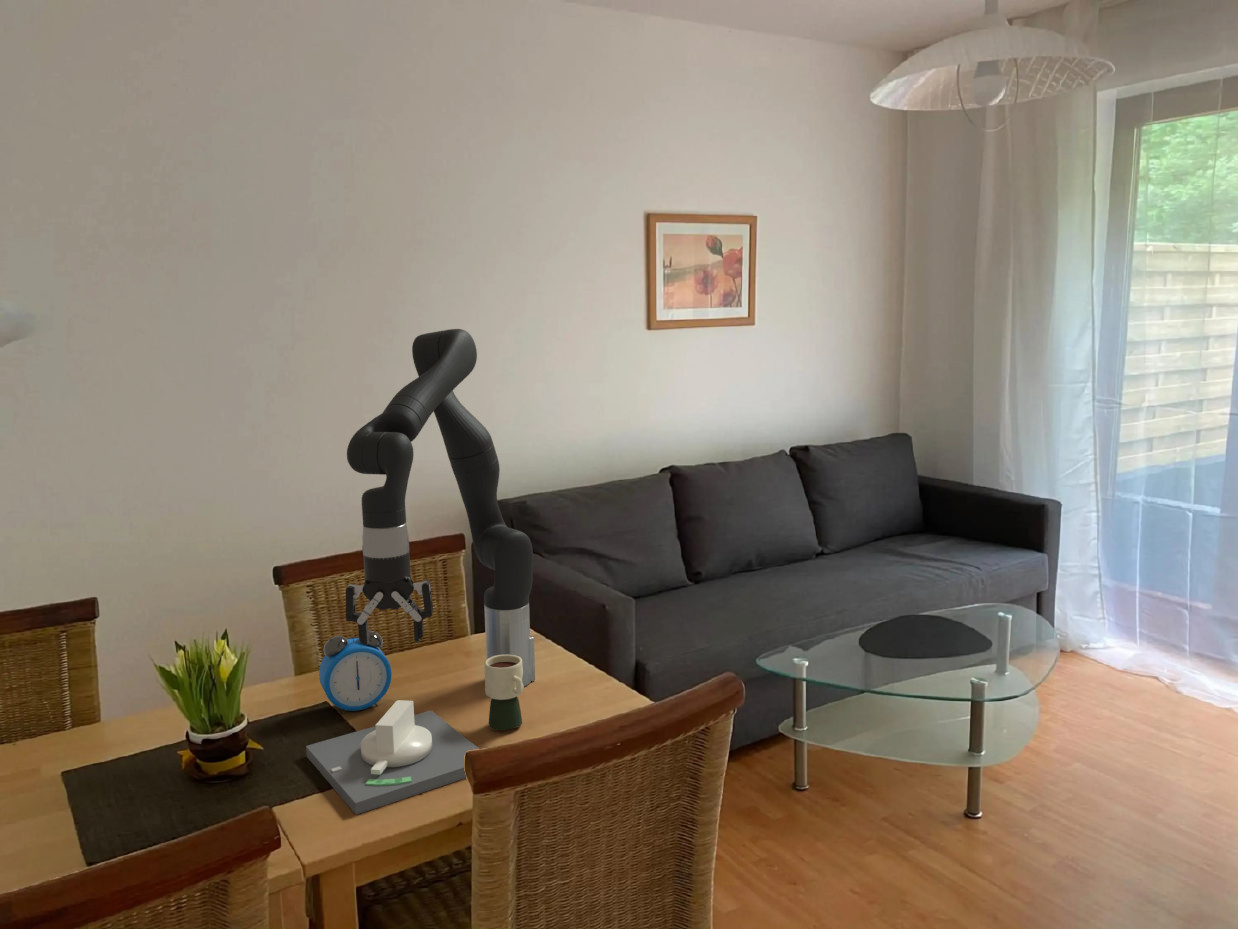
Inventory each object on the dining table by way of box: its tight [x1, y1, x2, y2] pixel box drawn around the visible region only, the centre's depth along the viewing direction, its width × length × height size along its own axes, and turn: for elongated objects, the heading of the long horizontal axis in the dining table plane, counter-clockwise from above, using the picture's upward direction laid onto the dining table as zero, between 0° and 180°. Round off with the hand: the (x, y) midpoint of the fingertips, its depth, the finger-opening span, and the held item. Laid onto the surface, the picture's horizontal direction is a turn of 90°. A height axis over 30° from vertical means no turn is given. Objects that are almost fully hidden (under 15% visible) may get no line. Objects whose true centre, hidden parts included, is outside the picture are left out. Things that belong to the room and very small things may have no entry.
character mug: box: [484, 655, 525, 731], centre depth 177 cm, size 11×7×13 cm, turn 40°
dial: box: [361, 699, 432, 774], centre depth 161 cm, size 16×12×7 cm
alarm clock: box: [318, 630, 393, 714], centre depth 186 cm, size 13×6×15 cm, turn 117°
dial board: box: [305, 710, 480, 815], centre depth 164 cm, size 24×24×2 cm
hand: (391, 642), depth 161 cm, fingers open, 8 cm apart
